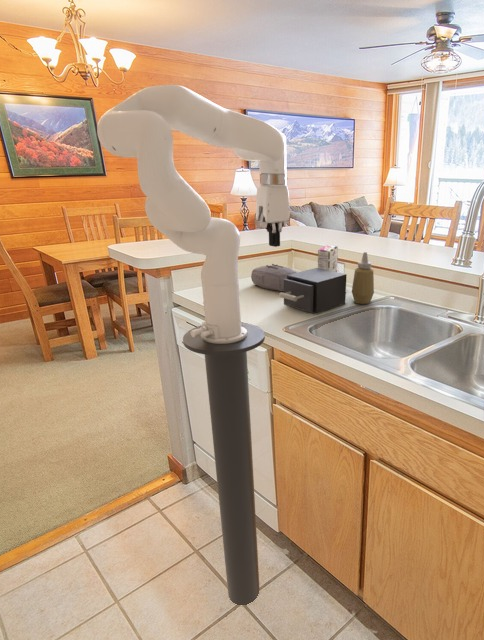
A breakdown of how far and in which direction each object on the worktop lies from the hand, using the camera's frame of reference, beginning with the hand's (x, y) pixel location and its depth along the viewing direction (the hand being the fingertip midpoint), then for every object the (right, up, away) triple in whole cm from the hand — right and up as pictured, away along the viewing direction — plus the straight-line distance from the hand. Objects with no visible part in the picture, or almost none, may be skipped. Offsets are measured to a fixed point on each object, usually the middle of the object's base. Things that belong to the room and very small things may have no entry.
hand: (274, 245), depth 132 cm
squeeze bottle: (+29, -14, +28) cm, 42 cm away
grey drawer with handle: (+9, -16, +19) cm, 27 cm away
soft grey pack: (-3, -5, +44) cm, 45 cm away
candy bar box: (+17, -7, +42) cm, 46 cm away
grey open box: (+13, -15, +24) cm, 31 cm away
